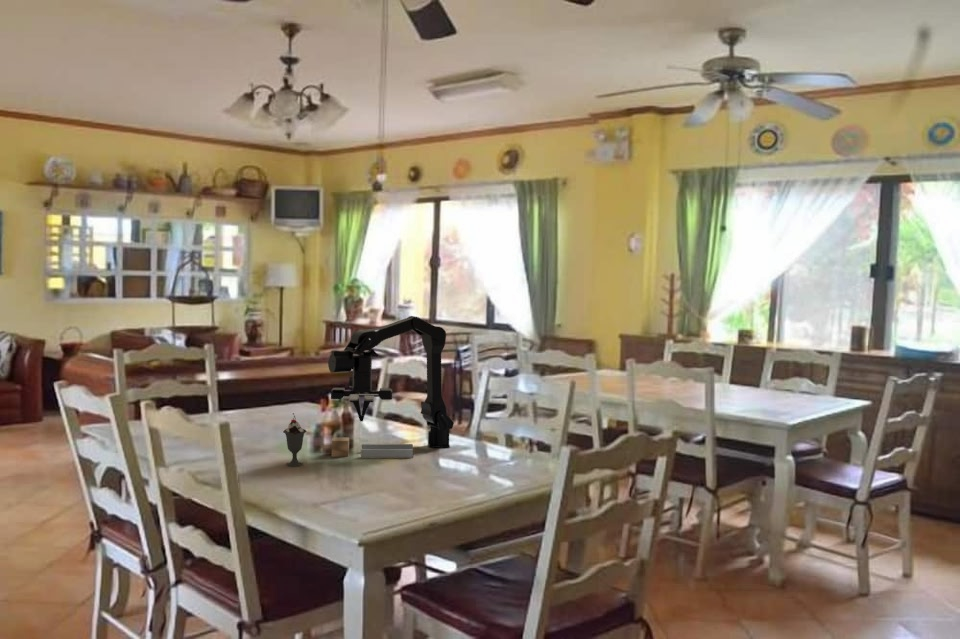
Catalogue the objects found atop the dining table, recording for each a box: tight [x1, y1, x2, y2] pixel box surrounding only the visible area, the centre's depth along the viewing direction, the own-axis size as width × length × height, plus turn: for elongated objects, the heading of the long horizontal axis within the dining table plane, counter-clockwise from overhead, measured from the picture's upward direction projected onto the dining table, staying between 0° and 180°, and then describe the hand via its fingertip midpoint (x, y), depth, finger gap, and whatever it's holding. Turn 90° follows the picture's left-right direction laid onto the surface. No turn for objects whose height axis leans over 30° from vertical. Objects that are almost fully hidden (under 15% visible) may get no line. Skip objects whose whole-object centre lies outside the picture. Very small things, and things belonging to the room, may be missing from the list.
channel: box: [360, 443, 414, 459], centre depth 265 cm, size 16×8×2 cm, turn 96°
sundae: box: [283, 413, 307, 468], centre depth 249 cm, size 7×7×15 cm
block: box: [331, 436, 350, 458], centre depth 263 cm, size 5×5×5 cm
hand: (361, 421), depth 263 cm, fingers closed
